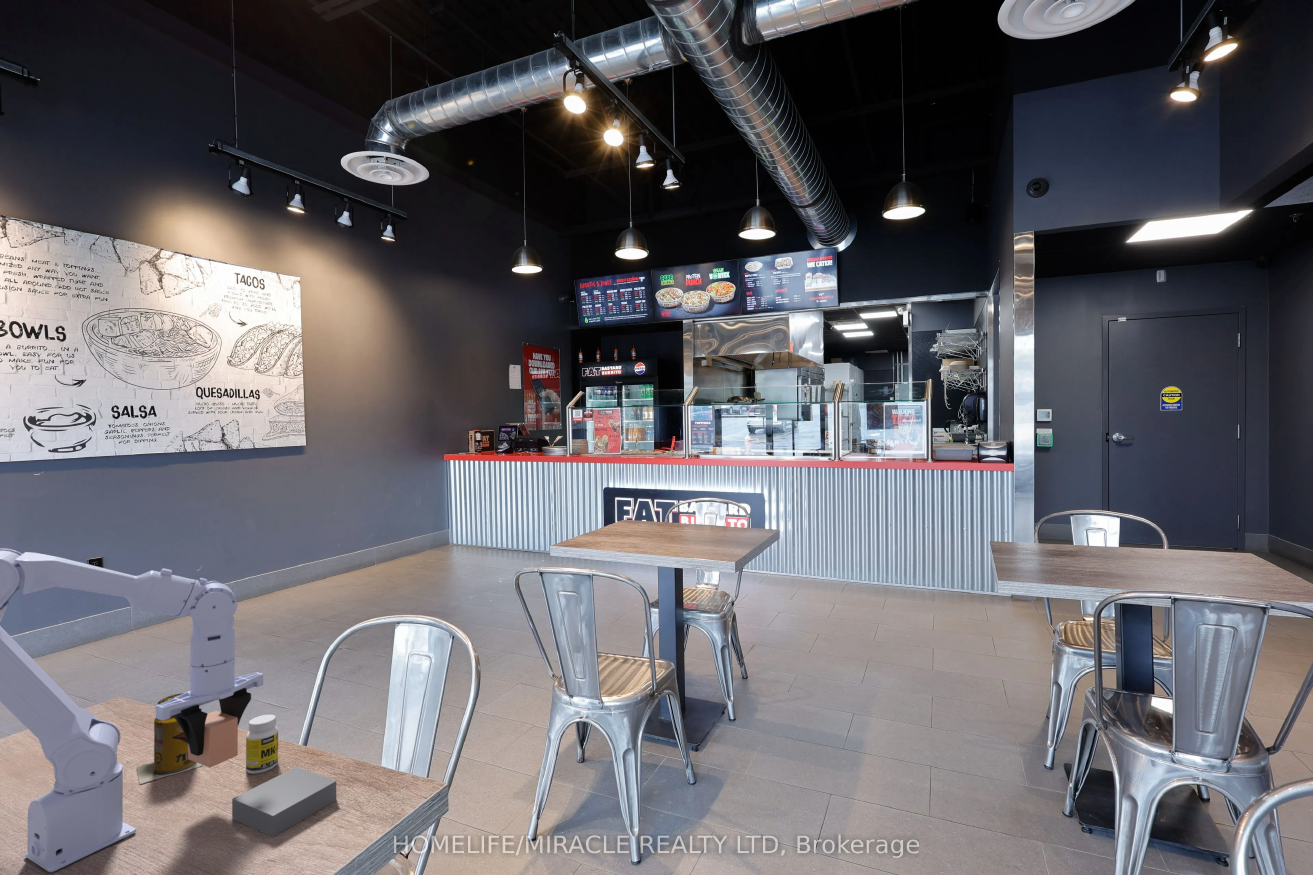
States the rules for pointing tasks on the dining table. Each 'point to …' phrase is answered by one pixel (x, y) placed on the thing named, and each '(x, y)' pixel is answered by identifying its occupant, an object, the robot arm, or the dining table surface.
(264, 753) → the supplement bottle
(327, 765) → the dining table surface
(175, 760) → the condiment
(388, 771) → the dining table surface
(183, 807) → the dining table surface
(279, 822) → the base brick
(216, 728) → the top brick
